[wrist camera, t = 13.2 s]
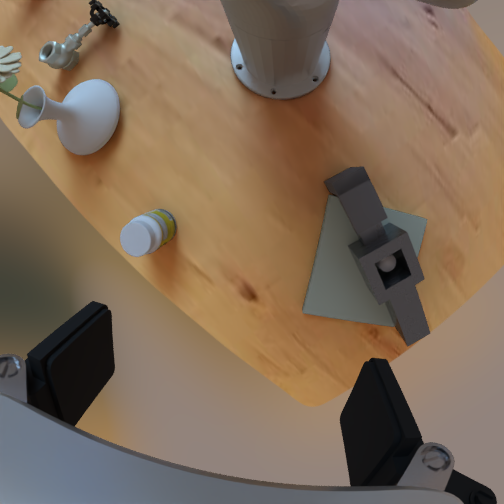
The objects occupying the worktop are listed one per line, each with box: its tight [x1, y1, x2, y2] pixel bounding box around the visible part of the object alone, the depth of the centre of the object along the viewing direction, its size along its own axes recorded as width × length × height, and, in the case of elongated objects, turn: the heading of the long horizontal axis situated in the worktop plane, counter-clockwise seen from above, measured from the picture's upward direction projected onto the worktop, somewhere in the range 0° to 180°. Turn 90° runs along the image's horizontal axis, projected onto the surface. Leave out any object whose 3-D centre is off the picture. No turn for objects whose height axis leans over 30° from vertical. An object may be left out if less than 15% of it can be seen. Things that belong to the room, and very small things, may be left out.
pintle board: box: [302, 167, 427, 327], centre depth 36 cm, size 20×15×6 cm
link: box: [348, 222, 430, 346], centre depth 35 cm, size 18×6×6 cm, turn 30°
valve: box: [39, 0, 120, 71], centre depth 31 cm, size 7×7×12 cm
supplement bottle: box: [120, 209, 177, 257], centre depth 37 cm, size 5×5×8 cm
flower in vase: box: [0, 46, 120, 155], centre depth 25 cm, size 13×11×25 cm
